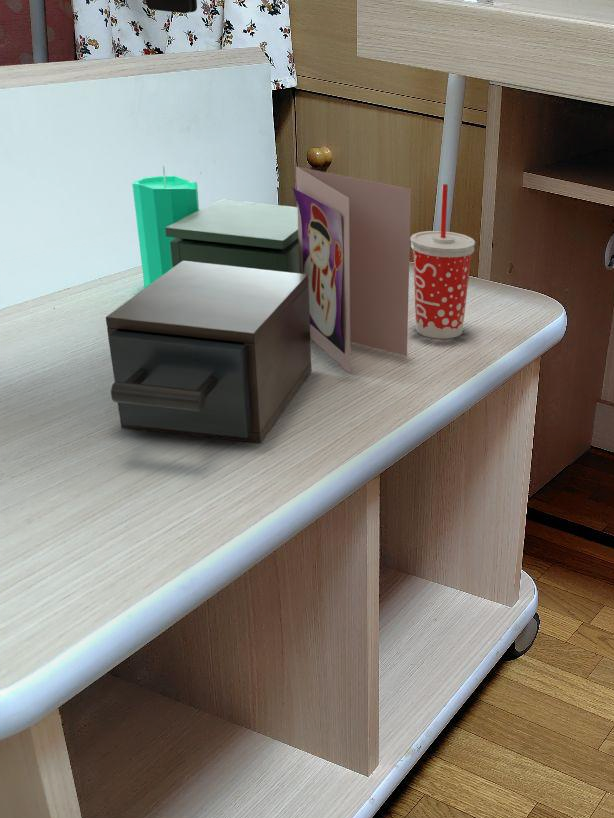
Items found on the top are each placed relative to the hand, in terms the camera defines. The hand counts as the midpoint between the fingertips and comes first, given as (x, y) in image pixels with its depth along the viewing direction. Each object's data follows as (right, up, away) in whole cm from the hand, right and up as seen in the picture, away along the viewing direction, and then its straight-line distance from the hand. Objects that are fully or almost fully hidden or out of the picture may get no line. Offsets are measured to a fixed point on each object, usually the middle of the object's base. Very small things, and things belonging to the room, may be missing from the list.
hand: (172, 10), depth 73 cm
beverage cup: (+17, -19, +25) cm, 36 cm away
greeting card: (+10, -21, +19) cm, 30 cm away
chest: (-1, -16, +26) cm, 30 cm away
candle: (-10, -13, +29) cm, 33 cm away
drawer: (+1, -29, +3) cm, 29 cm away
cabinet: (+1, -28, +7) cm, 29 cm away
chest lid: (0, -9, +21) cm, 23 cm away
